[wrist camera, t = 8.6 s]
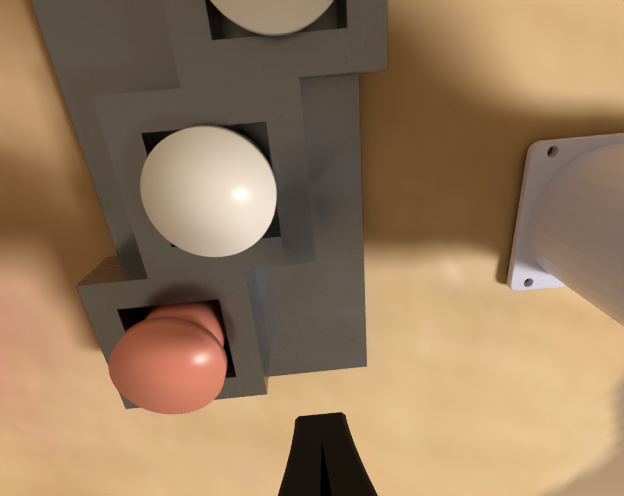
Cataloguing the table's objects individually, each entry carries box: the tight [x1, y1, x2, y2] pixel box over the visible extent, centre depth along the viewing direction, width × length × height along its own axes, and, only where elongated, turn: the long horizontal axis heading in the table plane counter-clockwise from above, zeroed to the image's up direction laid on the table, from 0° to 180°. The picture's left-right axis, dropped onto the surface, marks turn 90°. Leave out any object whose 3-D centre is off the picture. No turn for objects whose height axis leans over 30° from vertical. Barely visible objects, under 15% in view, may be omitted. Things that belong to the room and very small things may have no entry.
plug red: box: [109, 299, 227, 414], centre depth 16 cm, size 5×5×4 cm
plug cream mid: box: [140, 125, 277, 257], centre depth 14 cm, size 5×5×4 cm
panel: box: [31, 0, 387, 409], centre depth 15 cm, size 13×24×4 cm, turn 5°
